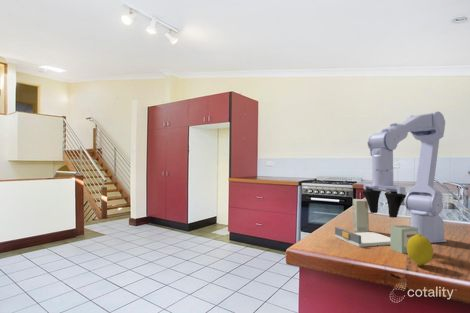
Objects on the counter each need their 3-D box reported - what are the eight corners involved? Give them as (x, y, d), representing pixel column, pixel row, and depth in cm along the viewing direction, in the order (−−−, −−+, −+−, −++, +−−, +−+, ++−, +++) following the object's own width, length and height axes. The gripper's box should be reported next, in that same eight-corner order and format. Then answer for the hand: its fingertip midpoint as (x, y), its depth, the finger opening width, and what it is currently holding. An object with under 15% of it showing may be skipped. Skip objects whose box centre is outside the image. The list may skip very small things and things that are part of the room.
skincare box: (369, 233, 100) (369, 201, 100) (356, 233, 101) (356, 200, 101) (364, 230, 106) (364, 199, 106) (352, 229, 107) (352, 198, 107)
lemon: (438, 270, 64) (437, 237, 65) (412, 268, 65) (412, 236, 66) (426, 262, 70) (425, 231, 70) (402, 261, 71) (402, 230, 71)
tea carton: (390, 249, 81) (390, 226, 81) (406, 248, 83) (406, 225, 83) (403, 254, 77) (402, 229, 77) (419, 252, 78) (419, 228, 79)
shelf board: (372, 234, 99) (372, 225, 99) (400, 243, 87) (400, 233, 87) (334, 237, 94) (334, 227, 95) (357, 247, 83) (357, 235, 83)
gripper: (355, 170, 89) (355, 211, 89) (390, 171, 75) (391, 220, 75) (373, 170, 91) (373, 210, 90) (411, 171, 77) (411, 219, 76)
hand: (383, 214), depth 83 cm, fingers open, 7 cm apart
